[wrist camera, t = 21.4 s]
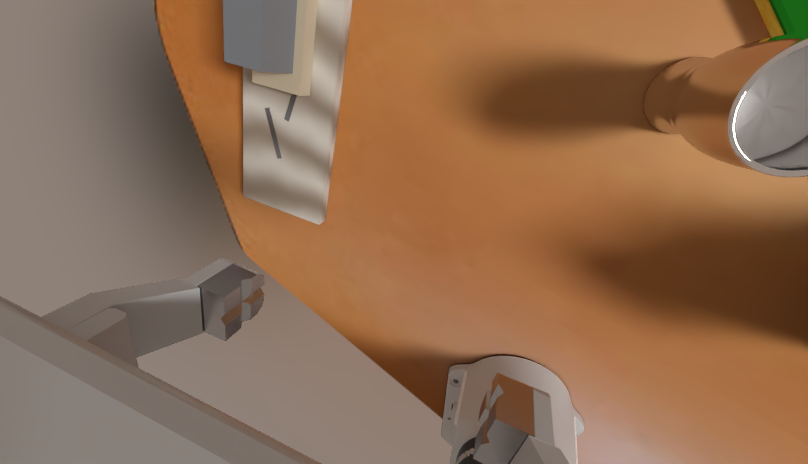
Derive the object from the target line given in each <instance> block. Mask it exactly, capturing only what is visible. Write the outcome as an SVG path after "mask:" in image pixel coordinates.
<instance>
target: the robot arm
mask: <svg viewBox="0 0 808 464" xmlns="http://www.w3.org/2000/svg"><path fill="white" fill-rule="evenodd" d="M262 285H264V276H263V275H262V274H261V273H259V272H257V271H255V270H252V269H250V268H248V267H246V266H243V265H241V264H239V263H236V262H234V261H232V260H229V259H227V258H221V259H219V260H217V261H216V262H214V263H212V264H210V265H209V266H207V267H205V268H203V269H202V270H200V271H198V272H196V273H194V274H193V275H191V276H189V277H188V278H186V279H184V280H181V279H174V280H168V281H162V282H156V283H150V284H144V285H138V286H132V287H126V288H120V289H114V290H108V291H103V292H96V293H90V294H88V295H86V296H84V297H82V298H80V299H78V300H76V301H74V302H71V303H69V304H67V305H65V306H63V307H61V308H59V309H57V310H55V311H53V312H51V313H49V314H47V315H44V316H42V317H40V316H38V315H36V314H34V313H32V312H30V311H28V310H26V309H24V308H22V307H21V306H19V305H17V304H15V303H13V302H11V301H9V300H7V299H5V298H3V297H1V296H0V464H321V463H319V462H317V461H315V460H313V459H311V458H309V457H308V456H306V455H304V454H302V453H300V452H298V451H296V450H294V449H292V448H290V447H288V446H286V445H284V444H283V443H281V442H279V441H277V440H275V439H273V438H271V437H269V436H267V435H265V434H263V433H262V432H260V431H257V430H256V429H254V428H252V427H250V426H248V425H246V424H244V423H242V422H240V421H238V420H237V419H235V418H233V417H231V416H229V415H227V414H225V413H223V412H221V411H219V410H217V409H215V408H214V407H212V406H210V405H208V404H206V403H204V402H202V401H200V400H198V399H196V398H194V397H192V396H191V395H189V394H187V393H185V392H183V391H181V390H179V389H177V388H175V387H173V386H172V385H169V384H168V383H166V382H164V381H162V380H160V379H158V378H156V377H154V376H152V375H150V374H149V373H146V372H145V371H143V370H141V369H139V368H138V364H137V360H136V357H139V356H142V355H145V354H147V353H150V352H153V351H155V350H158V349H161V348H163V347H166V346H169V345H171V344H174V343H177V342H180V341H182V340H185V339H188V338H190V337H193V336H196V335H198V334H201V333H203V331H204V332H206V333H208V334H211V335H213V336H215V337H218V338H220V339H222V340H224V341H226V340H227V339H229V338H230V337H231V336H232V335H233V334H234V333H236V332H237V331H238V330H239V329H240V328H241V324H242V322H243V321H247V320H250V319H252V318H253V317H254V316H255V315H256V314H257V313H258V311H259V310H260V308H261V307H262V304H263V301H264V293H263V291H262V290H261V288H260V287H261V286H262ZM455 379H456V380H455ZM583 431H584V421H583V419H582V418H581V416H580V415H579V414H578V413H577V412H576V411H575V409H574V408H573V406H572V404H571V400H570V396H569V393H568V391H567V389H566V387H565V385H564V384H563V383H562V381H561V380H560V379H559V378H558V377H557V376H556V375H555V374H554V373H552V372H551V371H550V370H548V369H547V368H545V367H543V366H542V365H540V364H538V363H535V362H533V361H530V360H527V359H524V358H519V357H514V356H494V357H488V358H485V359H482V360H480V361H477V362H475V363H472V364H460V365H453V366H451V367H450V368H449V373H448V381H447V390H446V398H445V406H444V414H443V422H442V431H441V435H442V437H443V438H444V439H445V440H446V441H447V442H448V443H449V444H450V445H451V446H452V451H451V457H450V464H578V460H577V441H576V437H577V436H578V435H579V434H581V433H582V432H583Z"/></svg>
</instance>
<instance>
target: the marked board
mask: <svg viewBox="0 0 808 464" xmlns="http://www.w3.org/2000/svg"><path fill="white" fill-rule="evenodd" d="M352 1H353V0H318V7H317V19H316V30H315V42H314V53H313V65H312V76H311V88H310V96H298V95H295V94H291V93H288V92H284V91H281V90H277V89H274V88H271V87H267V86H264V85H260V84H257V83H253V82H252V69H249V68H245V67H243V196H244V197H246V198H249V199H252V200H254V201H257V202H260V203H262V204H265V205H268V206H270V207H273V208H276V209H278V210H281V211H284V212H286V213H289V214H292V215H294V216H297V217H300V218H302V219H305V220H308V221H310V222H313V223H316V224H318V225H320V224H321V223H323V222H324V221H325V218H326V210H327V202H328V194H329V186H330V177H331V169H332V161H333V153H334V145H335V137H336V129H337V121H338V113H339V105H340V97H341V89H342V81H343V73H344V65H345V57H346V49H347V41H348V33H349V25H350V17H351V9H352Z"/></svg>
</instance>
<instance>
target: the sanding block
mask: <svg viewBox="0 0 808 464" xmlns="http://www.w3.org/2000/svg"><path fill="white" fill-rule="evenodd" d="M317 7H318V0H223V30H224V62H228V63H231V64H235V65H238V66H242V67H245V68H249V69H252V82H253V83H257V84H260V85H264V86H267V87H271V88H274V89H277V90H281V91H284V92H288V93H291V94H295V95H298V96H310V88H311V76H312V65H313V53H314V42H315V30H316V19H317Z"/></svg>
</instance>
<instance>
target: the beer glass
mask: <svg viewBox="0 0 808 464" xmlns="http://www.w3.org/2000/svg"><path fill="white" fill-rule="evenodd" d="M644 112H645V115H646V118H647V120H648V121H649V123H650V124H651V125H652V126H653V127H655V128H656V129H658V130H660V131H662V132H665V133H669V134H681V136H682V137H683V138H684V139H685V140H686V141H687V142H688V143H689V144H691V145H692V146H693V147H694V148H696V149H697V150H698V151H700V152H702V153H704V154H706V155H708V156H710V157H712V158H714V159H716V160H719V161H722V162H725V163H728V164H731V165H734V166H738V167H742V168H746V169H750V170H755V171H758V172H761V173H764V174H768V175H772V176H779V177H805V176H808V32H803V33H795V34H787V35H780V36H774V37H770V38H766V39H761V40H757V41H753V42H750V43H747V44H744V45H741V46H739V47H736V48H734V49H731V50H729V51H726V52H724V53H722V54H720V55H718V56H716V57H714V58H709V57H692V58H687V59H684V60H681V61H679V62H676V63H674V64H672V65H671V66H669V67H668V68H666V69H665V70H663V71H662V72H661V73H660V74H659V75H658V76H657V77H656V78H655V79H654V80H653V82H652V83H651V84H650V86H649V88H648V90H647V92H646V95H645V99H644Z"/></svg>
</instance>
